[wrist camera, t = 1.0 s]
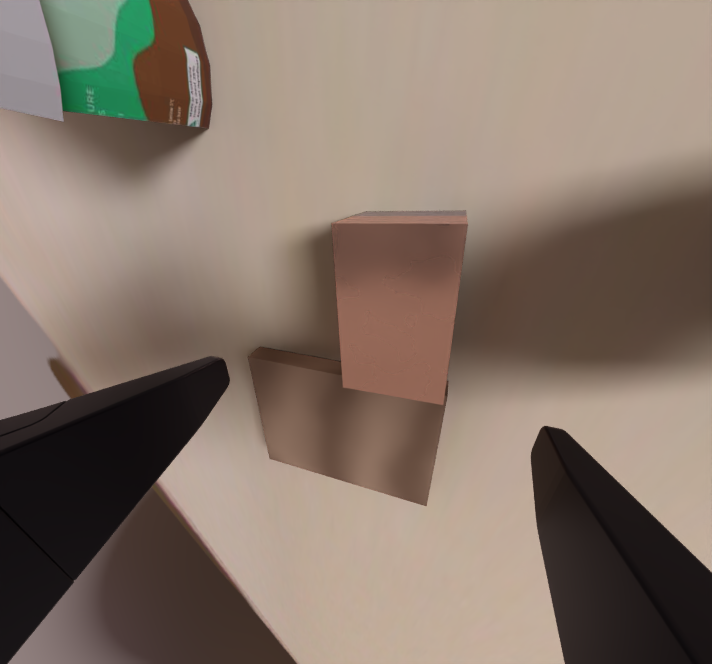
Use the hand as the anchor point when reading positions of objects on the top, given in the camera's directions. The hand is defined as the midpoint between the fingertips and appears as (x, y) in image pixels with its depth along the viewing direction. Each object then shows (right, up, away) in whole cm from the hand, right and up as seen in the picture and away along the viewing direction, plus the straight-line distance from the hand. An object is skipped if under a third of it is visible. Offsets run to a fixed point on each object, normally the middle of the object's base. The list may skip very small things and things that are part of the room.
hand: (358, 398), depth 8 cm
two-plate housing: (+3, +4, +9) cm, 10 cm away
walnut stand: (-1, -5, +15) cm, 16 cm away
